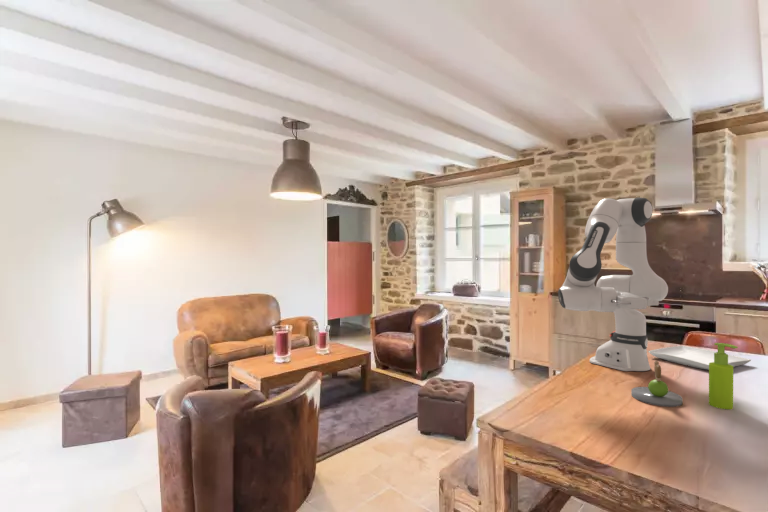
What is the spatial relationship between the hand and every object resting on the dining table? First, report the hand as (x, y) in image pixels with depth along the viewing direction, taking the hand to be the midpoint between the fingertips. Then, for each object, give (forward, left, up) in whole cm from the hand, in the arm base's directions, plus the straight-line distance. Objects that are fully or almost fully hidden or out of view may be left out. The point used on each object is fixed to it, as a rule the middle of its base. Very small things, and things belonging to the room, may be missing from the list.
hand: (653, 300), depth 136 cm
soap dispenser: (+18, +2, -32) cm, 37 cm away
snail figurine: (+3, -7, -31) cm, 32 cm away
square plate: (+3, +60, -33) cm, 68 cm away
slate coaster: (+2, -5, -32) cm, 33 cm away
